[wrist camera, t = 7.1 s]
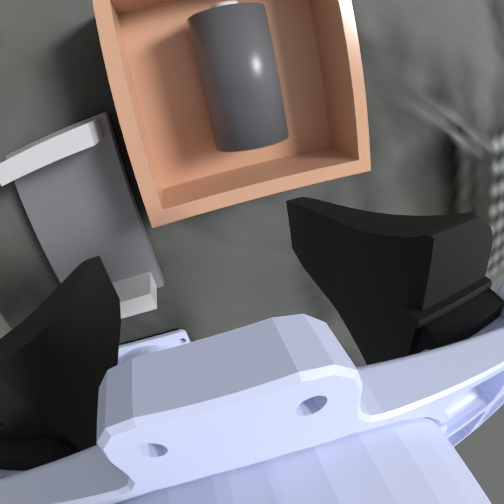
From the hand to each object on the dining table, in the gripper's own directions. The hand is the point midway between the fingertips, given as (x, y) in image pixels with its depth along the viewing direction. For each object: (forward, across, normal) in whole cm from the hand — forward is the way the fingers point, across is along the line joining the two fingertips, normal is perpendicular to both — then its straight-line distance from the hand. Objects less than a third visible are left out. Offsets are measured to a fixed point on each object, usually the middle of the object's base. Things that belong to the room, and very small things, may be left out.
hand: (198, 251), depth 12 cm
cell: (+7, -4, -6) cm, 10 cm away
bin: (+9, -4, -6) cm, 12 cm away
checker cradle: (+9, +7, 0) cm, 11 cm away
